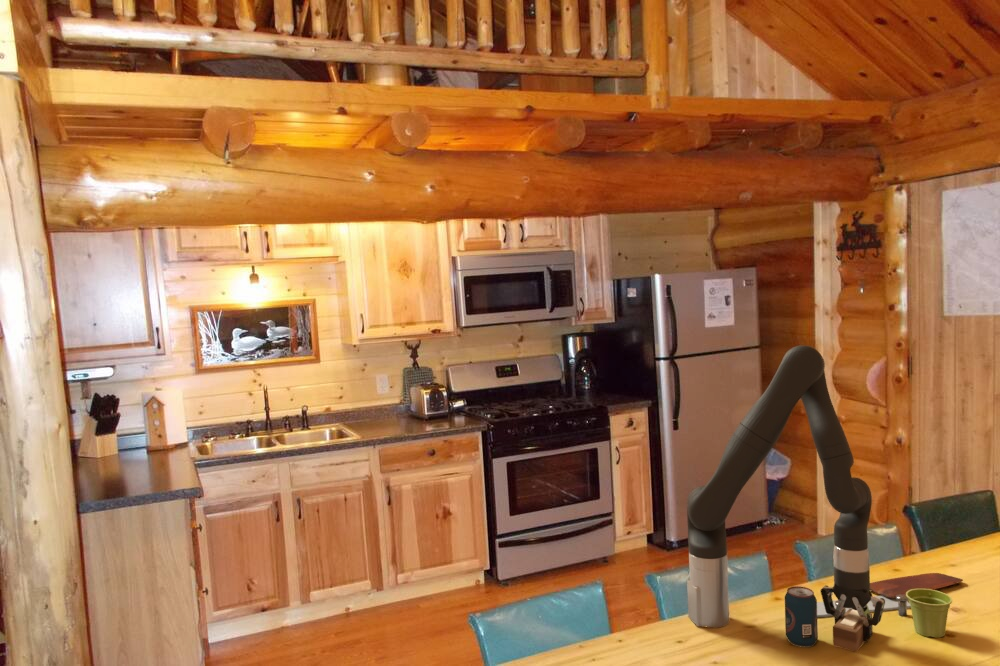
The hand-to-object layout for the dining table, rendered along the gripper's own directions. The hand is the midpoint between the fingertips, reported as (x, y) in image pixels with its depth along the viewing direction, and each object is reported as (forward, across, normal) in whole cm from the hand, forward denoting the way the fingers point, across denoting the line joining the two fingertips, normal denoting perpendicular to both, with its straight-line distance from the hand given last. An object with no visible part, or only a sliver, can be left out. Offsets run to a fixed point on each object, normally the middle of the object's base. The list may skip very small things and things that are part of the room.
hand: (853, 636), depth 172 cm
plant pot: (+1, -13, -14) cm, 19 cm away
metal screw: (0, +5, -7) cm, 9 cm away
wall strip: (0, +5, -18) cm, 18 cm away
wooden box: (0, 0, 0) cm, 1 cm away
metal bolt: (+1, -5, -20) cm, 20 cm away
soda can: (+1, +9, +9) cm, 12 cm away
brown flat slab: (0, -4, -39) cm, 39 cm away
